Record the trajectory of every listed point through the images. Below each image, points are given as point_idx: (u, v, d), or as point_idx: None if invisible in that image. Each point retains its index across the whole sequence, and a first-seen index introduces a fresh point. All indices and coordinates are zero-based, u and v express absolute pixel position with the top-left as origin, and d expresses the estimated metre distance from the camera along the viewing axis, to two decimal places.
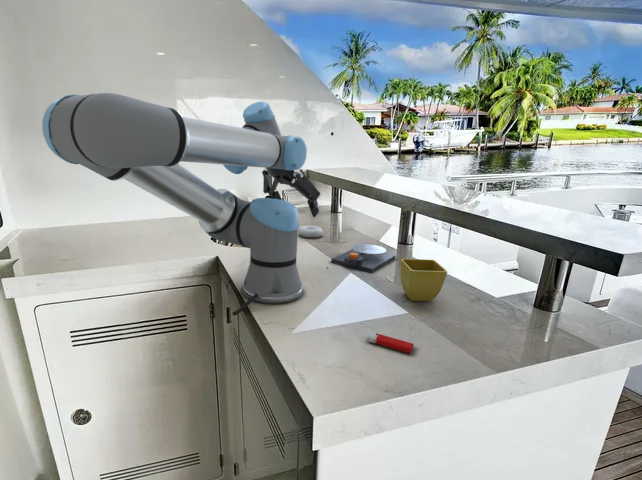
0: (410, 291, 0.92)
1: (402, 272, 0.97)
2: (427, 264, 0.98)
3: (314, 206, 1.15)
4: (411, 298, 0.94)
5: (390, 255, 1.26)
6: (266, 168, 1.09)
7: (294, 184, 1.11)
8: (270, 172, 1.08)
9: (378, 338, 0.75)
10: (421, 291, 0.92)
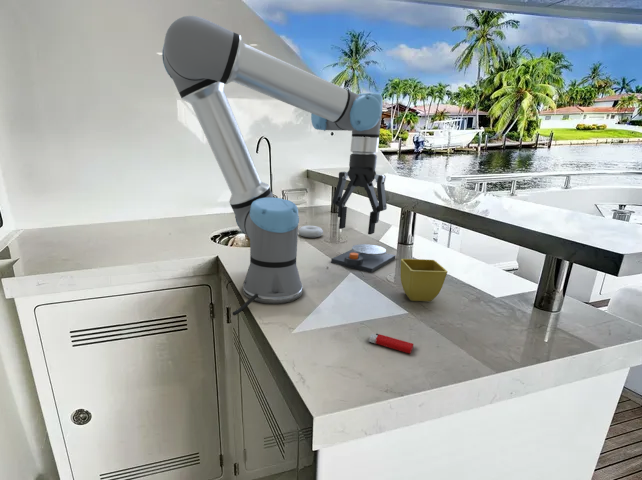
0: (410, 291, 0.92)
1: (402, 272, 0.97)
2: (427, 264, 0.98)
3: (375, 220, 1.10)
4: (411, 298, 0.94)
5: (390, 255, 1.26)
6: (351, 159, 1.07)
7: (369, 187, 1.08)
8: (354, 163, 1.06)
9: (378, 338, 0.75)
10: (421, 291, 0.92)
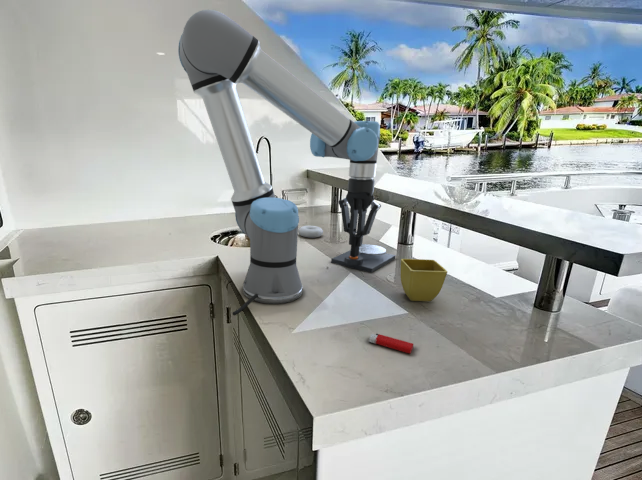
0: (410, 291, 0.92)
1: (402, 272, 0.97)
2: (427, 264, 0.98)
3: (358, 244, 1.15)
4: (411, 298, 0.94)
5: (390, 255, 1.26)
6: (349, 184, 1.09)
7: (362, 213, 1.11)
8: (352, 188, 1.08)
9: (378, 338, 0.75)
10: (421, 291, 0.92)
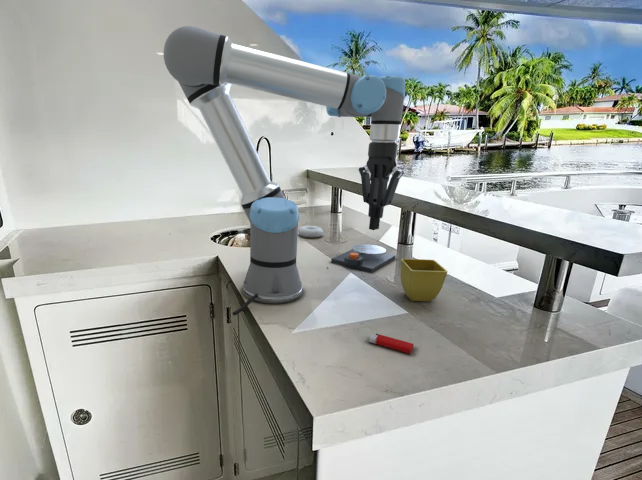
0: (410, 291, 0.92)
1: (402, 272, 0.97)
2: (427, 264, 0.98)
3: (378, 216, 1.05)
4: (411, 298, 0.94)
5: (390, 255, 1.26)
6: (369, 148, 1.00)
7: (383, 180, 1.01)
8: (372, 152, 0.99)
9: (378, 338, 0.74)
10: (421, 291, 0.92)
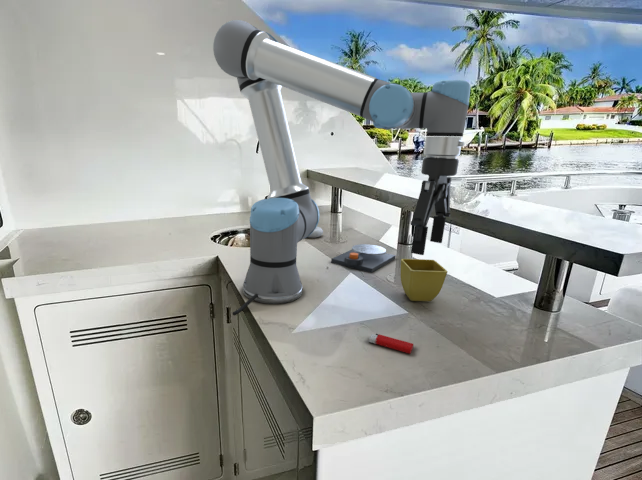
0: (410, 291, 0.92)
1: (402, 272, 0.97)
2: (427, 264, 0.98)
3: None
4: (411, 298, 0.94)
5: (390, 255, 1.26)
6: None
7: None
8: None
9: (378, 338, 0.74)
10: (421, 291, 0.92)
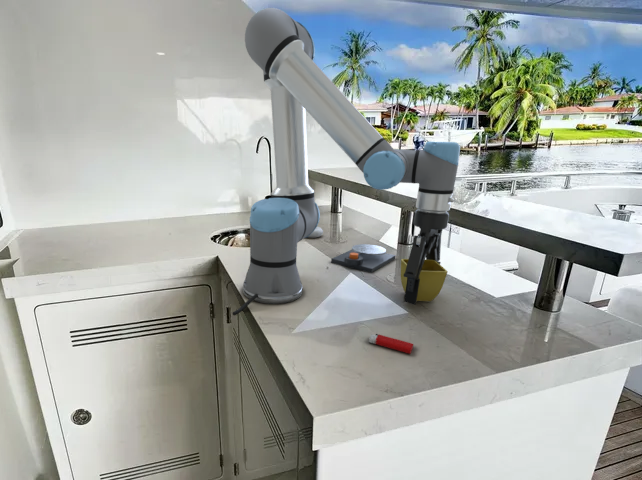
0: None
1: (402, 272, 0.97)
2: (427, 264, 0.98)
3: None
4: None
5: (390, 255, 1.26)
6: None
7: None
8: None
9: (378, 339, 0.74)
10: (421, 291, 0.92)
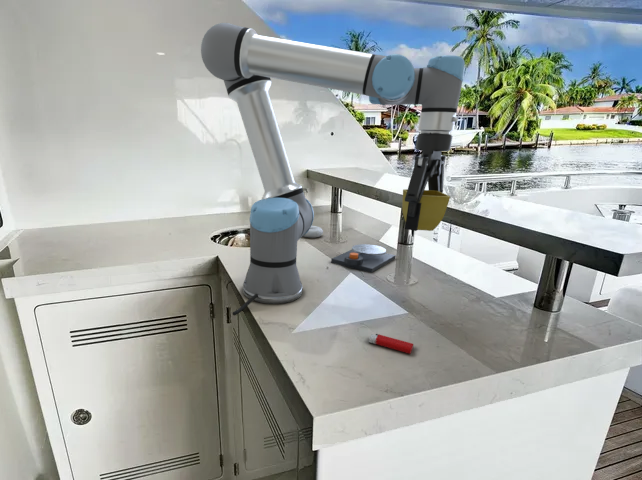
0: None
1: (404, 202, 0.95)
2: (430, 195, 0.96)
3: None
4: None
5: (390, 255, 1.26)
6: None
7: None
8: None
9: (378, 338, 0.74)
10: (423, 218, 0.90)
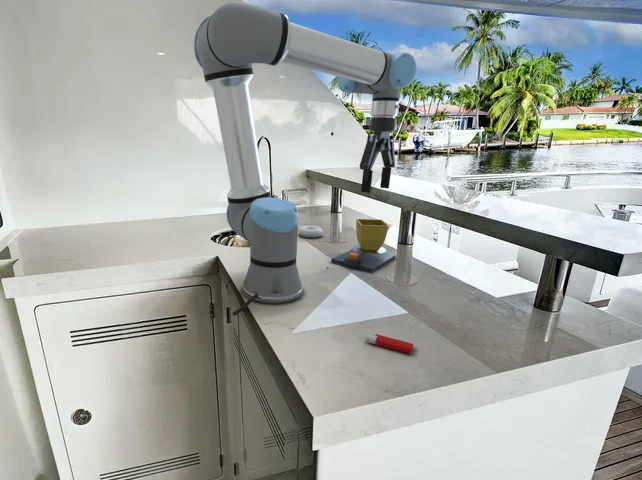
0: (361, 242, 1.21)
1: (357, 229, 1.25)
2: (376, 223, 1.26)
3: None
4: (363, 248, 1.22)
5: (390, 255, 1.26)
6: None
7: None
8: None
9: (378, 339, 0.74)
10: (370, 242, 1.21)
